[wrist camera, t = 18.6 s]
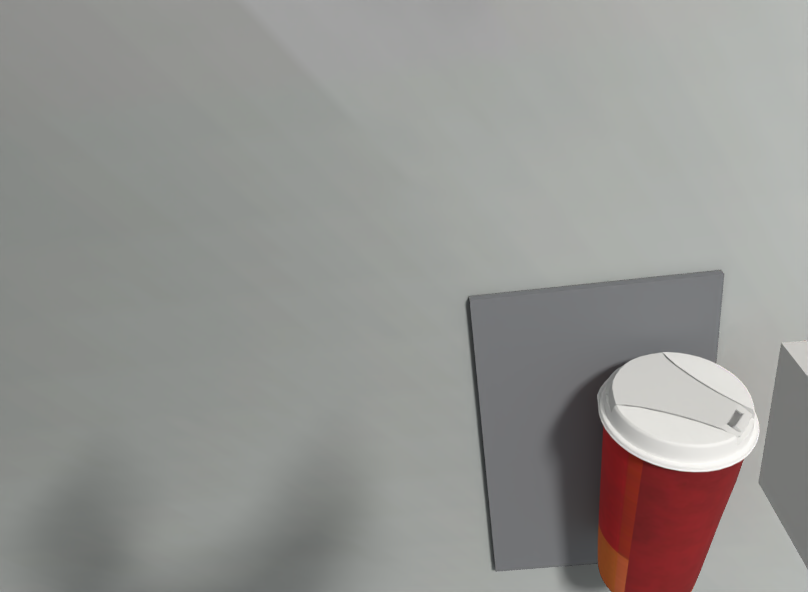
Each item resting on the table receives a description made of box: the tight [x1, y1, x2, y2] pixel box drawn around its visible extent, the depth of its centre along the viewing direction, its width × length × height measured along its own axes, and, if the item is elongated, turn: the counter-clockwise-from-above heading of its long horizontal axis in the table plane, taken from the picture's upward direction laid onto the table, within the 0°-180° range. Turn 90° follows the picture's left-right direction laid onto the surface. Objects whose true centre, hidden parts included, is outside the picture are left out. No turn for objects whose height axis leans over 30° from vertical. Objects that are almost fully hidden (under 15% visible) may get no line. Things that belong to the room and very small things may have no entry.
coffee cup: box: [597, 352, 759, 592], centre depth 45 cm, size 8×8×15 cm
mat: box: [469, 270, 724, 571], centre depth 48 cm, size 14×22×1 cm, turn 7°
